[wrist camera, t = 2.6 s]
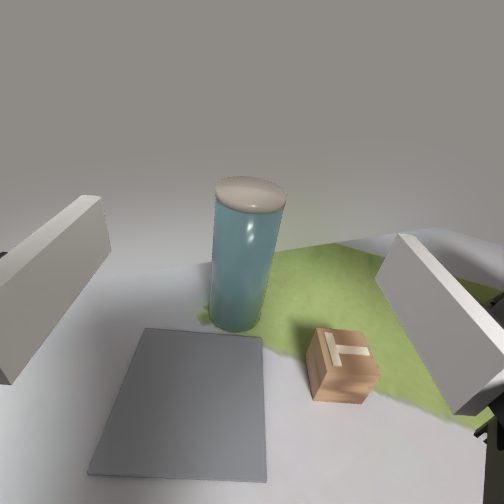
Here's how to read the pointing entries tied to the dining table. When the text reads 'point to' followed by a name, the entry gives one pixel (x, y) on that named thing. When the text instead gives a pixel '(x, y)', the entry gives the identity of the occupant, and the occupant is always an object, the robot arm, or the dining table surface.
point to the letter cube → (340, 366)
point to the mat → (188, 410)
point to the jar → (243, 249)
